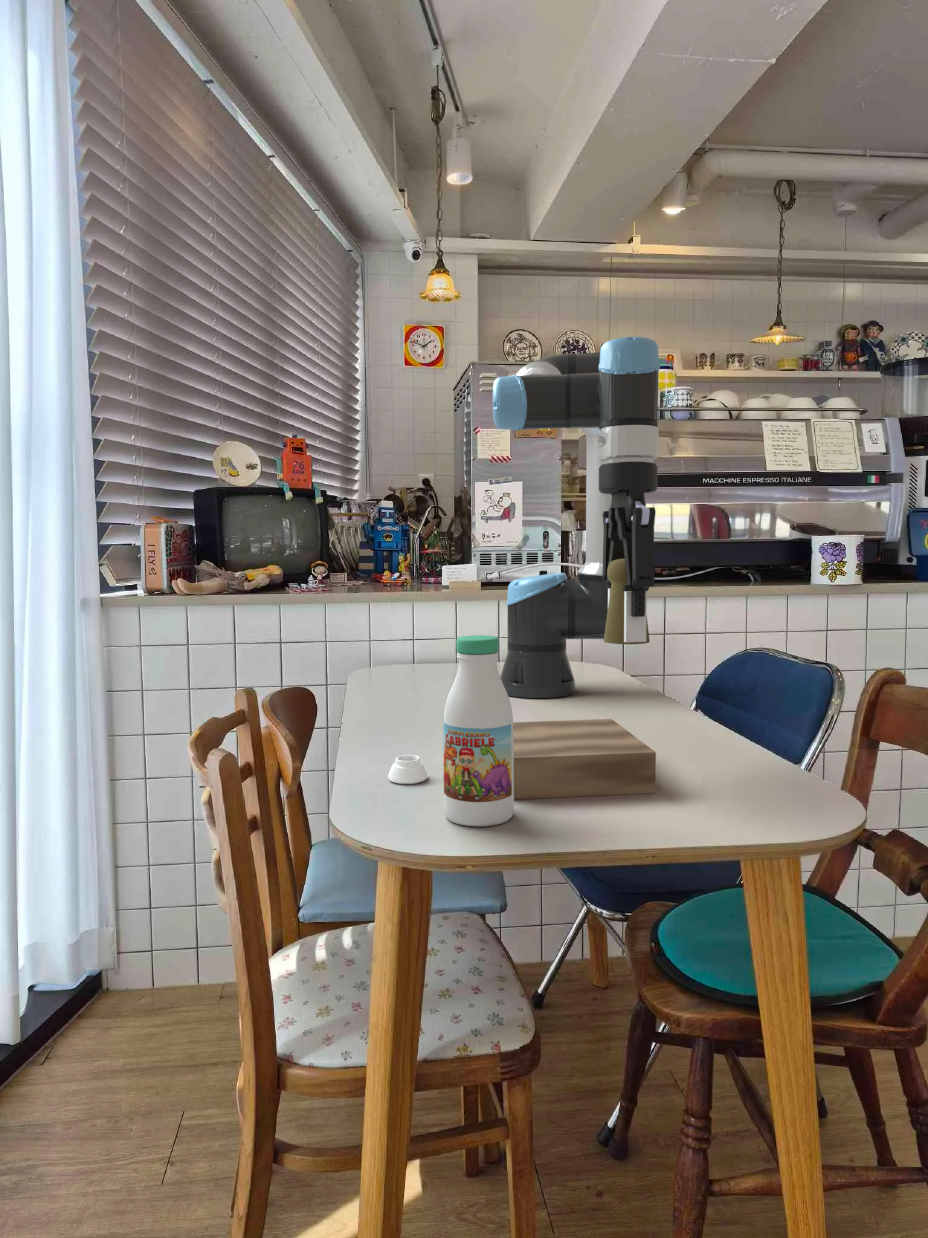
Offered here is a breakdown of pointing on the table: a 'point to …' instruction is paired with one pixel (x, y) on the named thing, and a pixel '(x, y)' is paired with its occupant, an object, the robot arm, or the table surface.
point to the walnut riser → (580, 760)
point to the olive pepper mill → (617, 605)
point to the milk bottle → (478, 738)
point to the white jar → (407, 770)
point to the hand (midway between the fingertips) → (626, 638)
